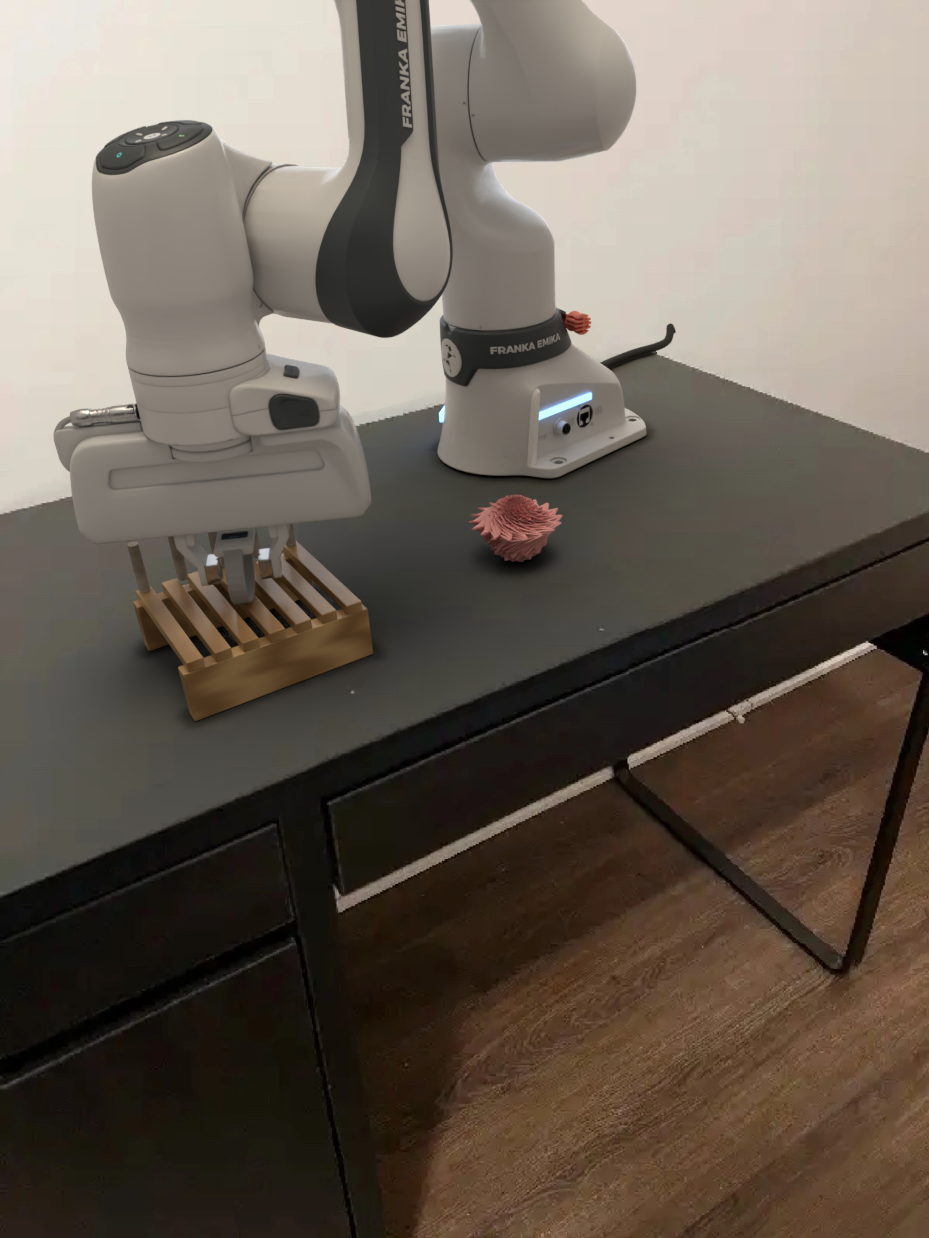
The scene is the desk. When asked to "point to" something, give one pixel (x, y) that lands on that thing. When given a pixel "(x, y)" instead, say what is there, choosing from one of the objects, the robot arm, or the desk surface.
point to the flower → (516, 526)
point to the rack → (255, 659)
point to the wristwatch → (238, 562)
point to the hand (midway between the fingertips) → (242, 578)
